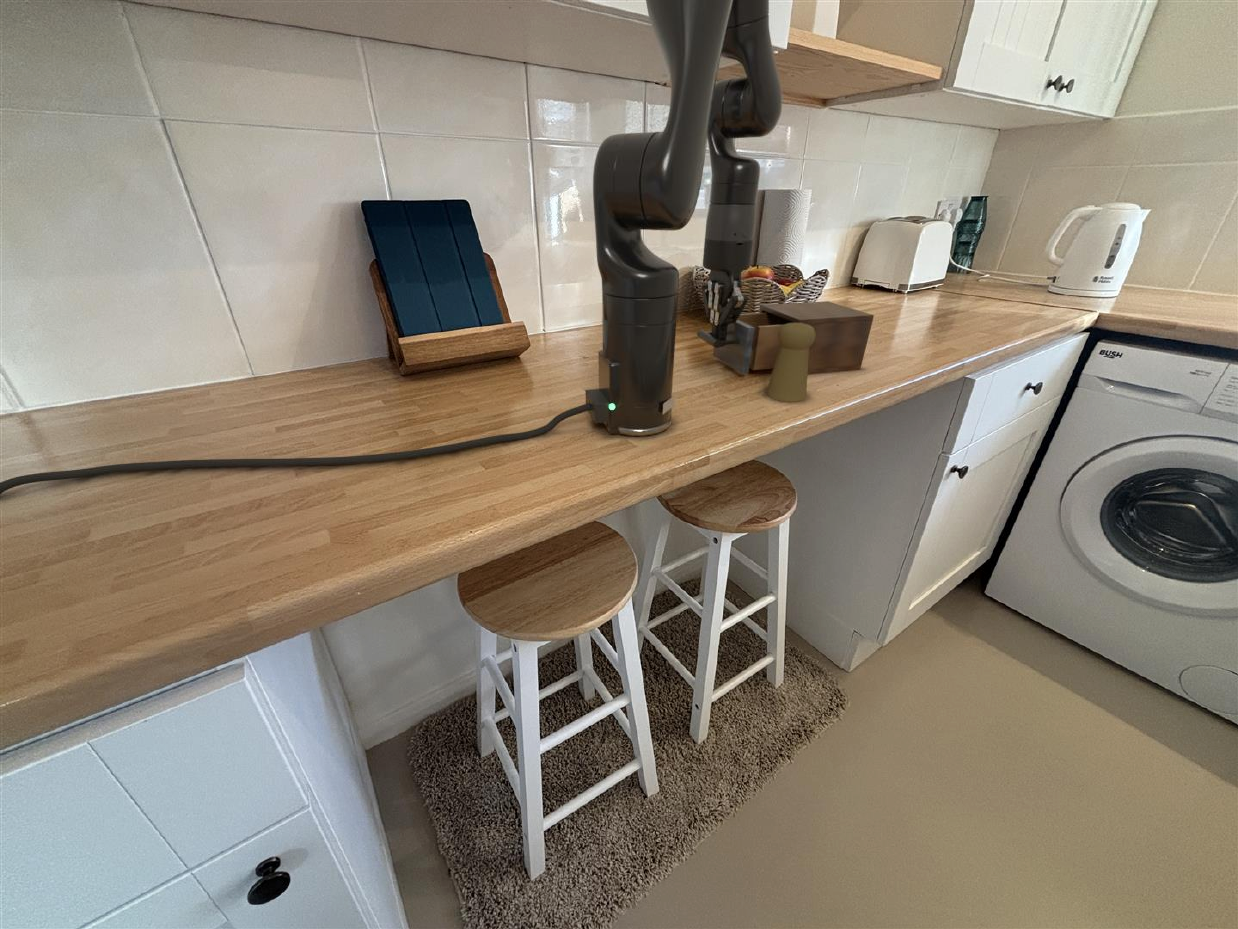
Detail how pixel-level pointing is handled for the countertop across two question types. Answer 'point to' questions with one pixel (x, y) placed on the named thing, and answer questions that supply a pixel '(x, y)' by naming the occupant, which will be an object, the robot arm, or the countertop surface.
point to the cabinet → (829, 333)
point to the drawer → (748, 342)
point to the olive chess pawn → (791, 363)
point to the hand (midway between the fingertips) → (717, 345)
